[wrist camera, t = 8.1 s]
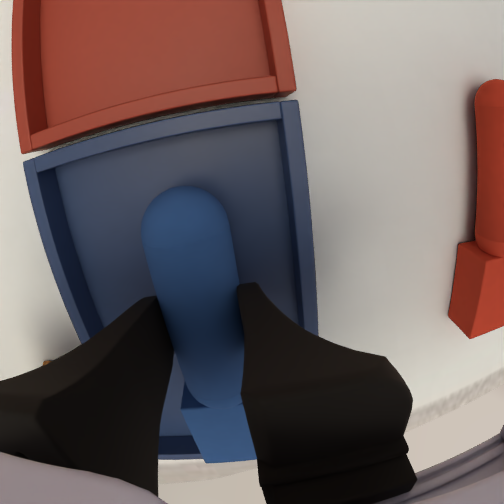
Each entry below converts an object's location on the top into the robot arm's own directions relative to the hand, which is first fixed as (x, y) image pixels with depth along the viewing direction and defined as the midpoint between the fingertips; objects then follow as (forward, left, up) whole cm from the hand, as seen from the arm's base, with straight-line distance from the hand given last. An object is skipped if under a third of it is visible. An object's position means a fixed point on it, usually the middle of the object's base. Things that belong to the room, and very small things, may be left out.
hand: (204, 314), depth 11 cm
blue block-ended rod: (0, +2, -2) cm, 2 cm away
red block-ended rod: (-14, -2, -3) cm, 14 cm away
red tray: (+1, -16, -3) cm, 16 cm away
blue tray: (+1, +2, -3) cm, 4 cm away
